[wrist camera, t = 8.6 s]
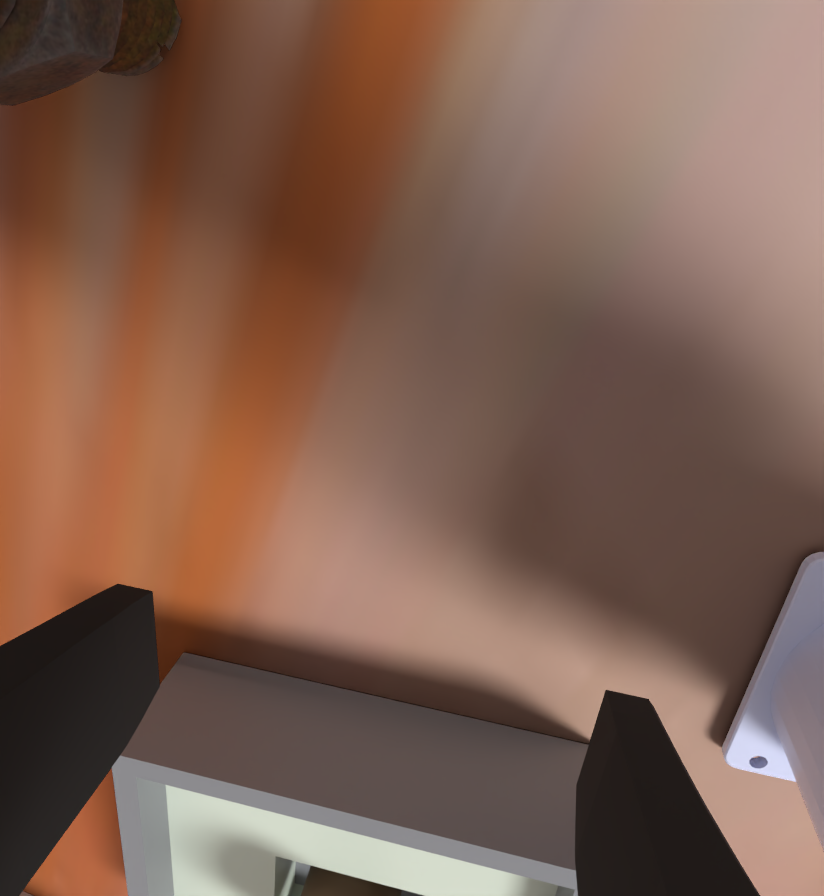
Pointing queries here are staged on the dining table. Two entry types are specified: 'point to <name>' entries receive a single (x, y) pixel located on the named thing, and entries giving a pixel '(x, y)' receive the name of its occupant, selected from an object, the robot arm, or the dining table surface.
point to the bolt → (78, 42)
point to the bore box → (336, 792)
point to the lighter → (25, 894)
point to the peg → (342, 885)
